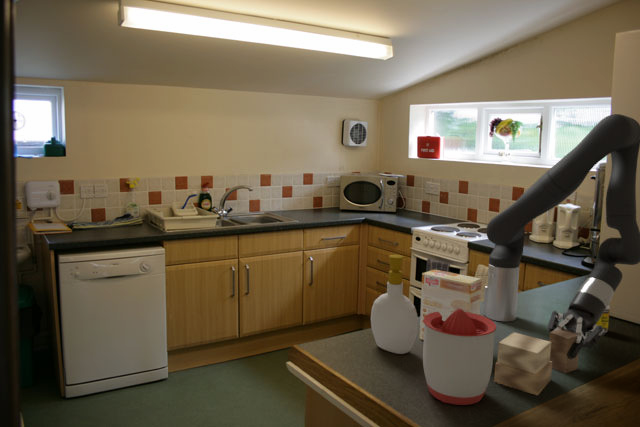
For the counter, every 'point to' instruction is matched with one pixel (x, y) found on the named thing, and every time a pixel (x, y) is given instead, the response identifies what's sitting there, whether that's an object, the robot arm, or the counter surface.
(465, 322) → the citrus juicer
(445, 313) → the coffeecake box
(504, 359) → the block top
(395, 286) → the soap bottle
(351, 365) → the counter surface
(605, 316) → the supplement bottle
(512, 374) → the block bottom
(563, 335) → the walnut post
